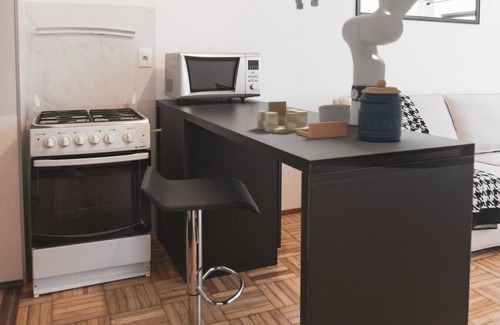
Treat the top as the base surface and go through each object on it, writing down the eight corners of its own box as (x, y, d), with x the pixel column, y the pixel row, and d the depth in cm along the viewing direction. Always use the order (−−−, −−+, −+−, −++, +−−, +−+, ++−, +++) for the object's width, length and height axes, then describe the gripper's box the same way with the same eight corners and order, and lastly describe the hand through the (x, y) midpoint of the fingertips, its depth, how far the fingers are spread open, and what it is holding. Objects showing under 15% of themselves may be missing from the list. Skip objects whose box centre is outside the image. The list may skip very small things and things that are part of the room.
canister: (355, 135, 154) (357, 78, 150) (398, 136, 151) (401, 78, 148) (357, 142, 141) (360, 79, 137) (404, 143, 139) (408, 80, 135)
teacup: (349, 131, 163) (350, 107, 161) (316, 130, 165) (317, 106, 163) (349, 125, 176) (350, 103, 175) (319, 124, 178) (320, 102, 177)
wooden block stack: (257, 128, 169) (257, 102, 167) (294, 126, 175) (294, 100, 173) (274, 133, 156) (275, 105, 155) (314, 131, 162) (315, 104, 160)
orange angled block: (294, 133, 156) (295, 119, 155) (329, 131, 161) (330, 118, 160) (310, 138, 147) (311, 123, 146) (347, 135, 152) (347, 121, 151)
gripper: (334, -45, 142) (333, 4, 145) (301, -33, 161) (300, 11, 164) (316, -47, 140) (314, 4, 143) (284, -34, 159) (283, 10, 161)
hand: (306, 8), depth 153 cm, fingers open, 8 cm apart
